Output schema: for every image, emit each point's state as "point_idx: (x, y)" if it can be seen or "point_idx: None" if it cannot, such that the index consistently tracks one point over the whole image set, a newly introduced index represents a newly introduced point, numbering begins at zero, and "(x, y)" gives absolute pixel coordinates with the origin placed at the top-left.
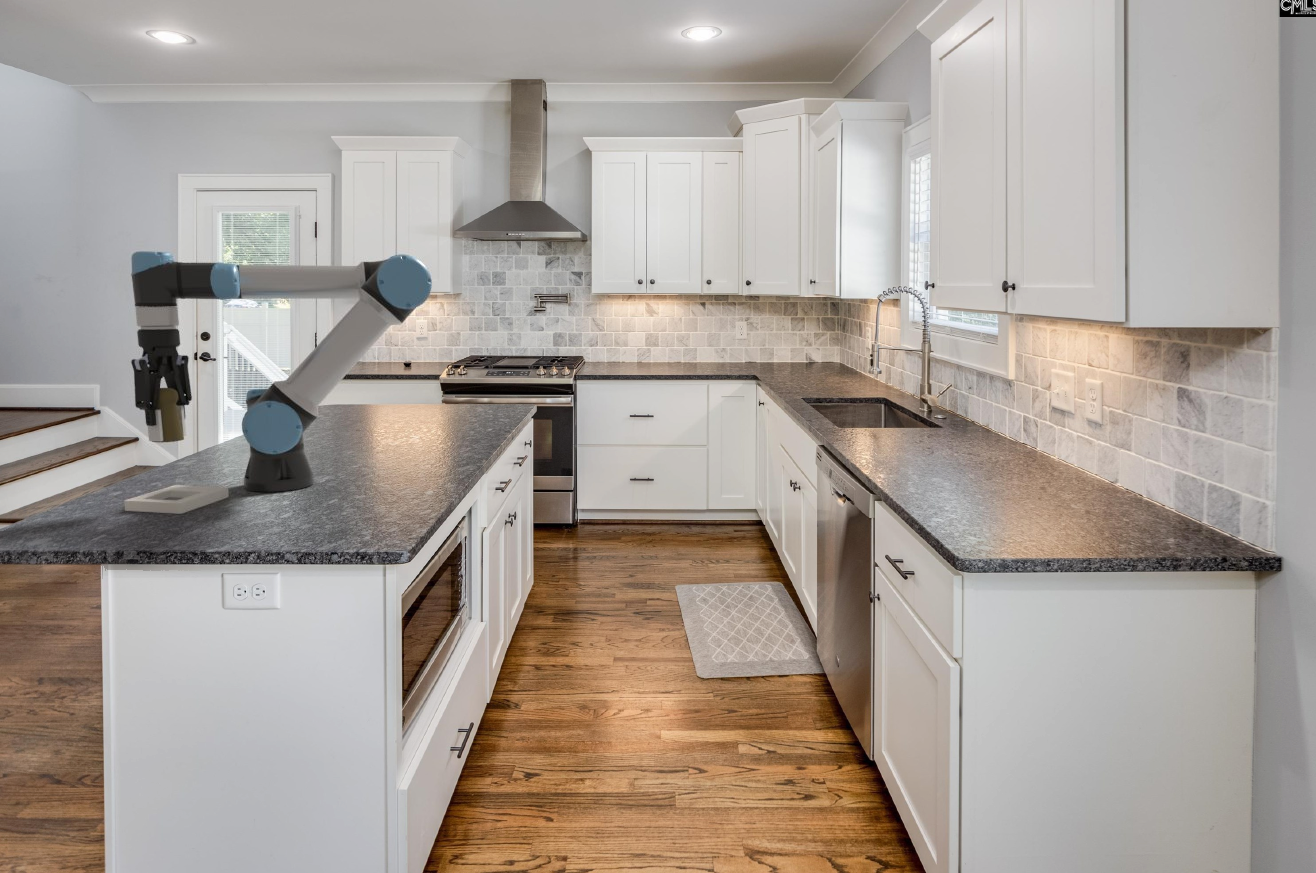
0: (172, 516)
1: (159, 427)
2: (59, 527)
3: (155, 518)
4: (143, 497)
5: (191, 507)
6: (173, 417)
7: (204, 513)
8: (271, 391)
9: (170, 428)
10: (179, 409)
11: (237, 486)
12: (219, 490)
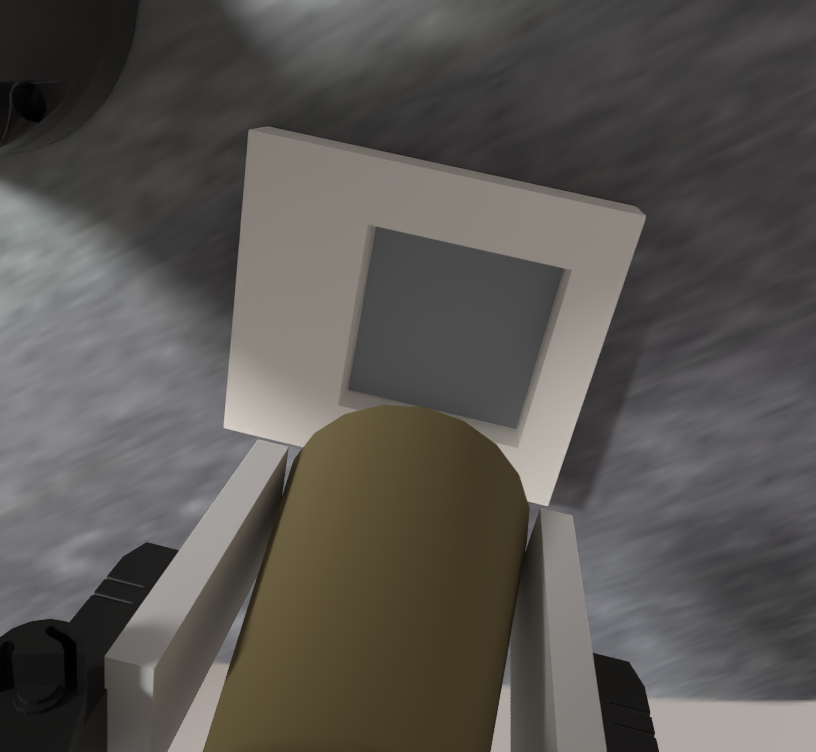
0: (687, 225)
1: (584, 606)
2: (808, 588)
3: (717, 289)
4: None
5: (559, 191)
6: (424, 591)
7: (641, 80)
8: None
9: (481, 531)
10: (176, 651)
11: (35, 197)
12: (322, 146)
